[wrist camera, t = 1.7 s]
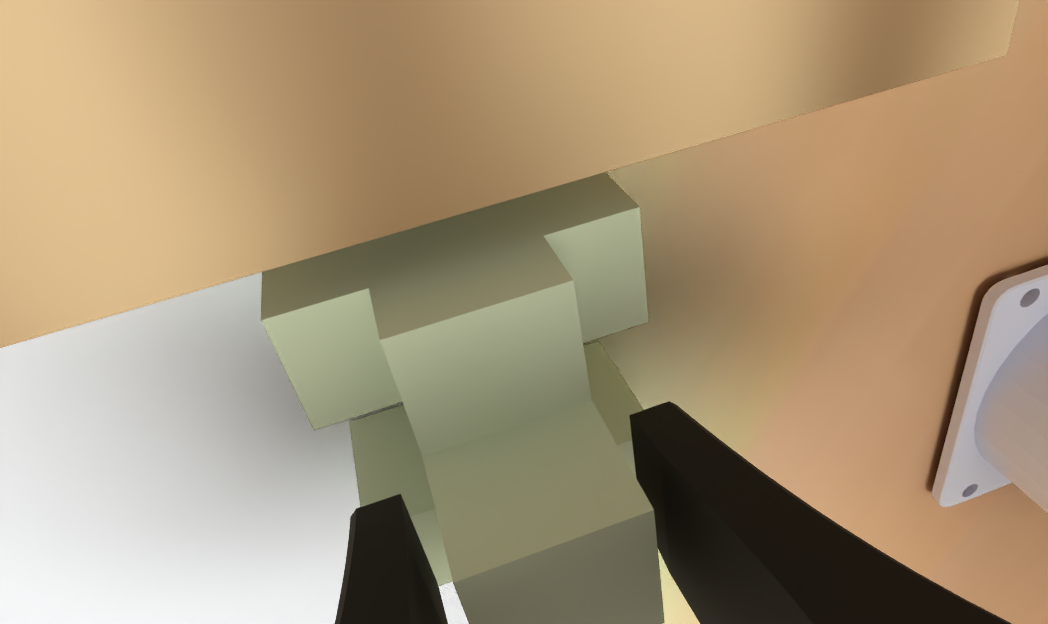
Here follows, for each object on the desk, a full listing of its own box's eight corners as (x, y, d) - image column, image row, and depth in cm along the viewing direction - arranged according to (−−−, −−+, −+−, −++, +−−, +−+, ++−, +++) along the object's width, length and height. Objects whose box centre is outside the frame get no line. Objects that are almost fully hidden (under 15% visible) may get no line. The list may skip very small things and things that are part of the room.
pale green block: (570, 138, 12) (769, 337, 7) (607, 409, 16) (754, 660, 11) (263, 224, 11) (256, 511, 6) (378, 487, 15) (427, 792, 10)
